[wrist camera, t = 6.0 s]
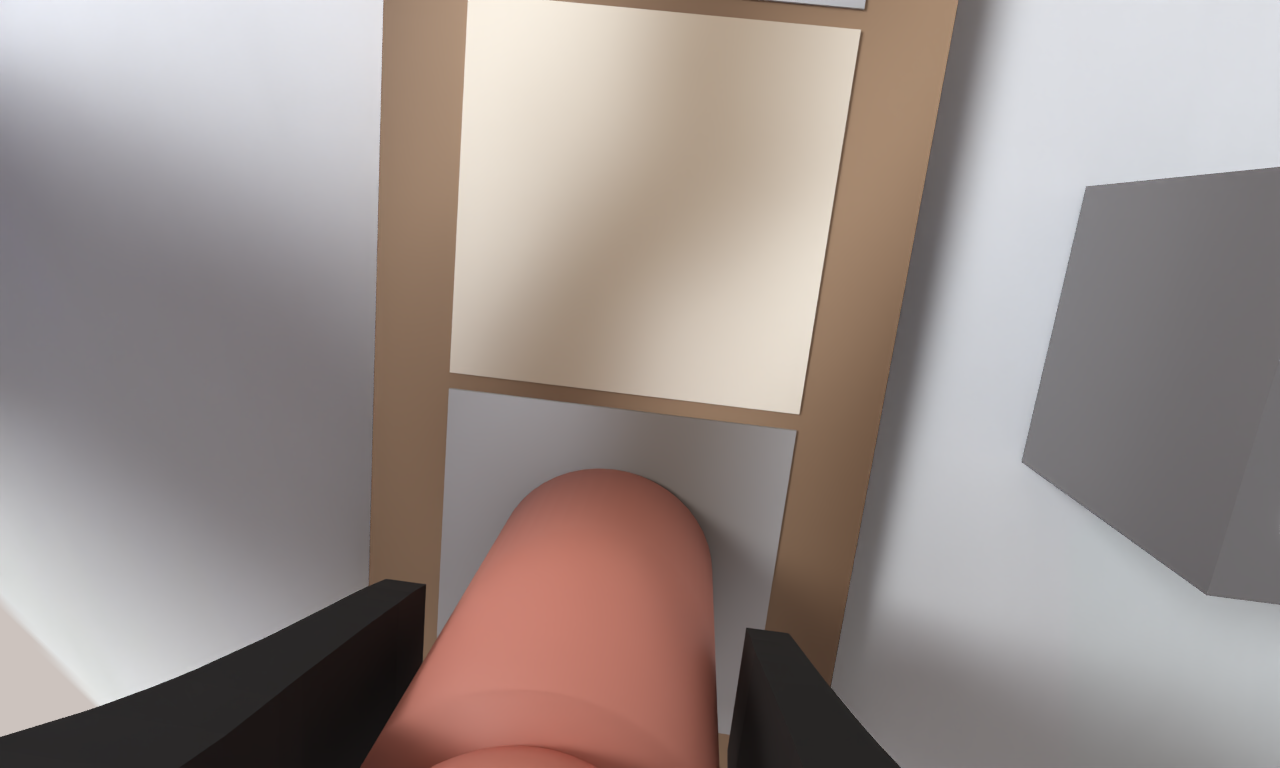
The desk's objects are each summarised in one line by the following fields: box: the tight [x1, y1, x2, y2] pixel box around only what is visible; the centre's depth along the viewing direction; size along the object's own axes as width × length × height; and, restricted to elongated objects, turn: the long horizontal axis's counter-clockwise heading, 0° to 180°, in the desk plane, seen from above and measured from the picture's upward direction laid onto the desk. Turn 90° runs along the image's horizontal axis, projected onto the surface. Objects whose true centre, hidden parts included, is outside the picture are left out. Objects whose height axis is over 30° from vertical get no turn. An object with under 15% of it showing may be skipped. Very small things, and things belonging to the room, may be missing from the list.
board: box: [369, 0, 958, 768], centre depth 12 cm, size 9×28×1 cm, turn 174°
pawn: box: [360, 468, 720, 768], centre depth 9 cm, size 4×4×9 cm
